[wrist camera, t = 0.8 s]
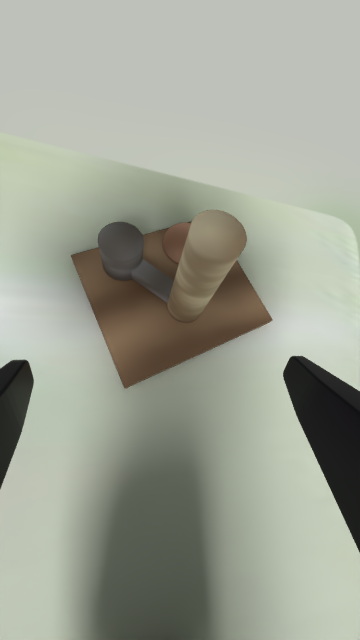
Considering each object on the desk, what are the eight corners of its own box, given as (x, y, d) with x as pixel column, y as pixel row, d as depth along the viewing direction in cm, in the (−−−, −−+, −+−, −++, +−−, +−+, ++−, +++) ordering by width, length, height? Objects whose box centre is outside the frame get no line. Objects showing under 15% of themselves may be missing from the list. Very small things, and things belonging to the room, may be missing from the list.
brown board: (268, 322, 26) (273, 319, 25) (124, 388, 21) (124, 387, 20) (208, 221, 29) (210, 214, 28) (72, 259, 24) (70, 253, 23)
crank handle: (94, 265, 23) (68, 164, 14) (119, 240, 25) (111, 133, 15) (188, 331, 23) (227, 271, 13) (209, 302, 24) (257, 229, 15)
